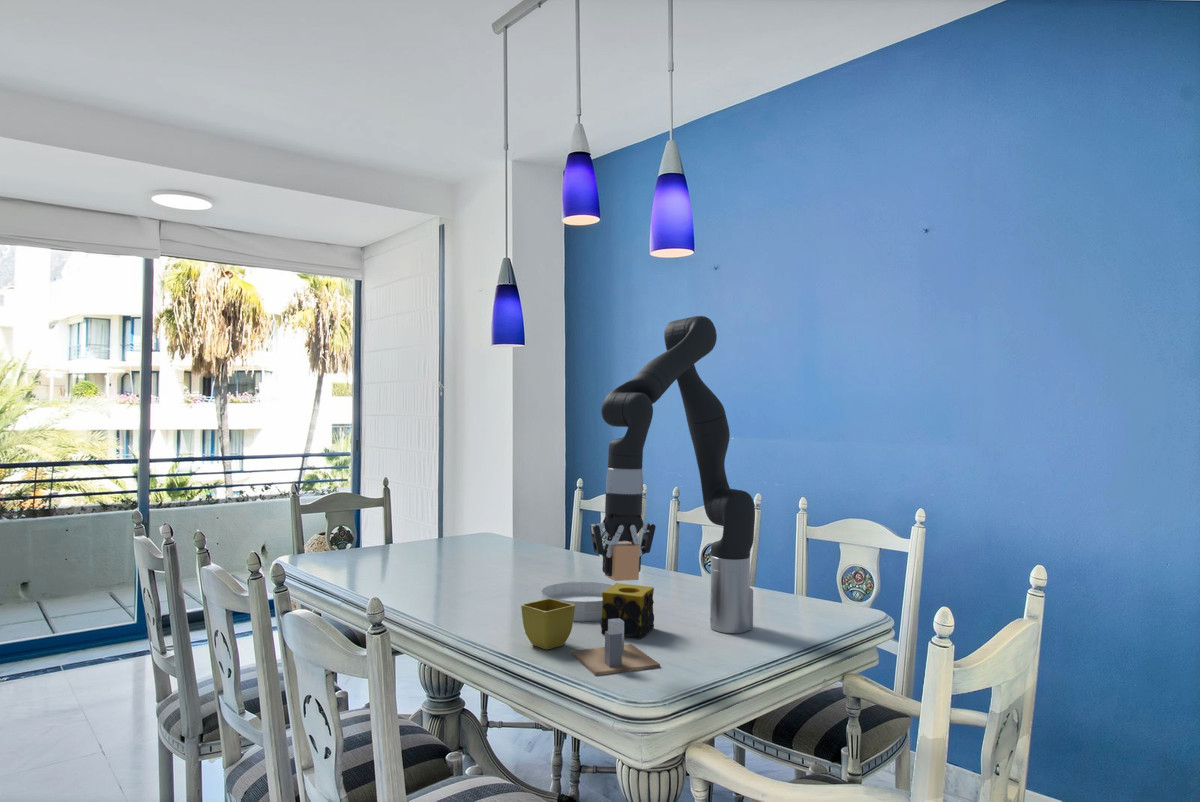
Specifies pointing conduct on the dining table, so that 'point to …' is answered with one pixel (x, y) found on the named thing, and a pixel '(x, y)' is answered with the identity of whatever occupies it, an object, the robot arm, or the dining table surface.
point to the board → (630, 662)
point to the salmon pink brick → (625, 562)
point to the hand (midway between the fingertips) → (621, 574)
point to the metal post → (617, 627)
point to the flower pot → (548, 622)
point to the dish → (579, 598)
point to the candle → (629, 609)
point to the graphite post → (613, 648)
